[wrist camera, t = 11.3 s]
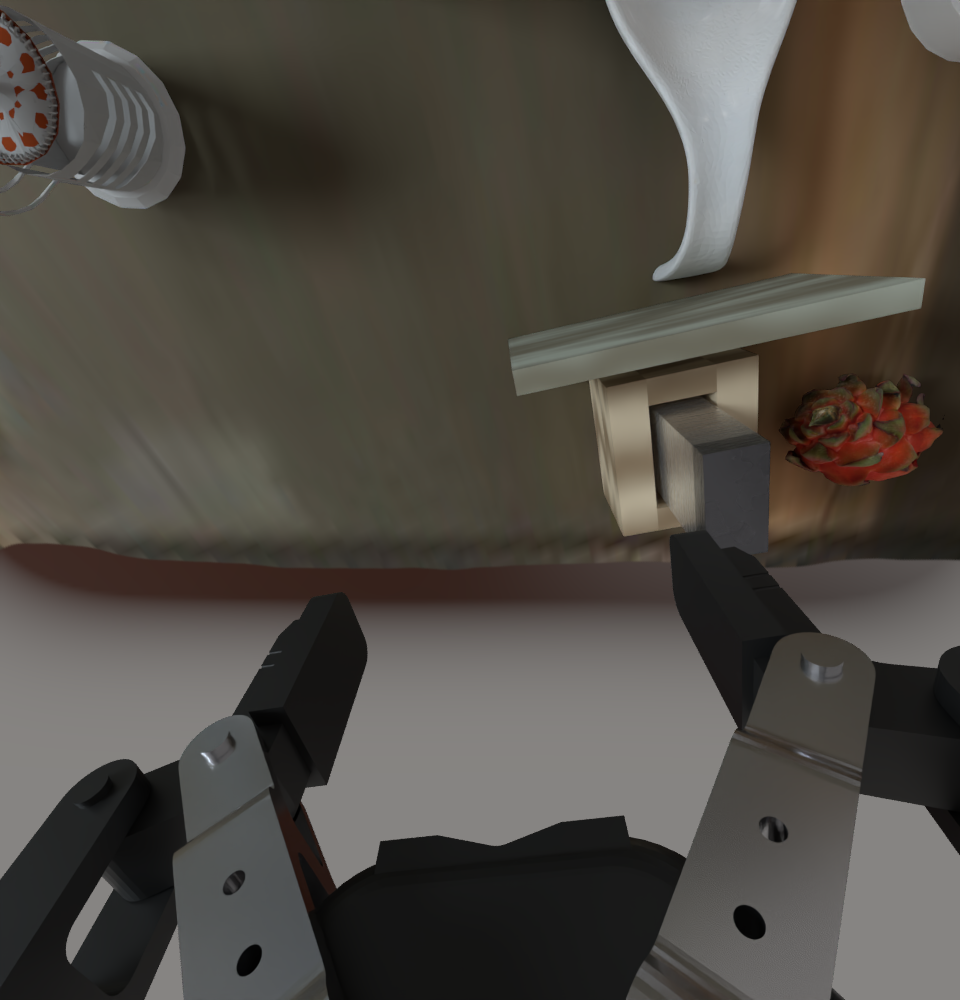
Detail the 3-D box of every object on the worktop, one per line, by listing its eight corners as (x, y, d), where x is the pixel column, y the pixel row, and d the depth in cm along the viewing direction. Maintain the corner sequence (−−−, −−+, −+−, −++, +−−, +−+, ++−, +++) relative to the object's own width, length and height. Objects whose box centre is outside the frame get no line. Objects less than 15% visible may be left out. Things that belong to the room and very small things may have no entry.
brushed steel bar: (643, 399, 37) (702, 455, 27) (690, 389, 37) (770, 442, 26) (650, 481, 40) (706, 561, 30) (694, 473, 40) (767, 551, 29)
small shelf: (507, 339, 40) (512, 370, 28) (791, 273, 37) (925, 278, 26) (540, 505, 47) (554, 586, 35) (784, 459, 44) (888, 531, 32)
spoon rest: (578, -141, 29) (601, -259, 22) (790, -204, 27) (880, -349, 21) (608, 291, 39) (630, 297, 32) (764, 260, 37) (820, 260, 31)
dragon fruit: (748, 399, 43) (868, 405, 45) (758, 494, 42) (882, 497, 43) (828, 355, 35) (972, 364, 37) (845, 471, 33) (994, 475, 35)
